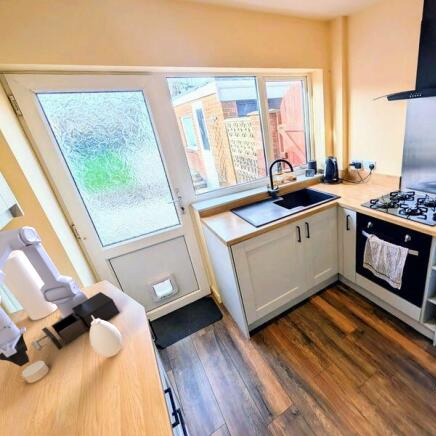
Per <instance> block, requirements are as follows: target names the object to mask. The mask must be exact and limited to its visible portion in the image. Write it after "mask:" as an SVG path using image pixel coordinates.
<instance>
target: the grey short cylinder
mask: <svg viewBox="0 0 436 436" xmlns="http://www.w3.org/2000/svg"><path fill="white" fill-rule="evenodd" d="M49 370H50V368H49V366H48V365H47V364H46V362H45V361H44V360H37V361H35V362H33V363H31V364H29V365H28V366H27V367H25V368H24V369H23V371H22V373H21V377H22V378H23V379H24V380H25V381H26V382H27V383H29V384H31V383H35V382H37V381H39V380H41V379H42V378H44V377H45V376H46V375H47V374H48V372H49Z"/></svg>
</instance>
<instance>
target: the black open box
mask: <svg viewBox="0 0 436 436" xmlns="http://www.w3.org/2000/svg"><path fill="white" fill-rule="evenodd" d="M50 327H52V329H53V330H54V332H55V334H57V336H58V337H59V338H60V339H61V340H62V341H63V342H64V343H66V344H68V343H69V342H70V341H72V340H73V339H76V337H78V336H80V335H82V334H83V333H84V332H86V331H87V330H89V329H88V328H87V327H86V325H85V324H84V322H83V320H82V319H81V318H80V317H78V316H77V315H76V314H74V313H71V314H70V315H68V316H66V317H65V318H60V320H58V321H56V322H54V323H53V324H51V325H50ZM41 331H42V332H43V333H44V335H43V336H42V337H40V338H39V339H37V340H33V341H31V344H30V345H32V347H33V348H34V349H35V350H36V351H37V352H41V351H43V349H44V348H45V347H46V346H48V345H49V344H51V343H52V344H53V345H54V347H56V348H57V349H58V350H59V351H60V350H62V349H63V348H64V346H63V344H62V343H61V342H60V341H59V339H58V338H57V336H56V335H55V334H54V333H53V332H52V331H51V330H50V329H49V328H48V327H46V326H45V327H44V328H41ZM46 338H48V340H49V341H47V342H45V343H44V344H42V345H41V344H40V342H41V341H43V340H45V339H46Z"/></svg>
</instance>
